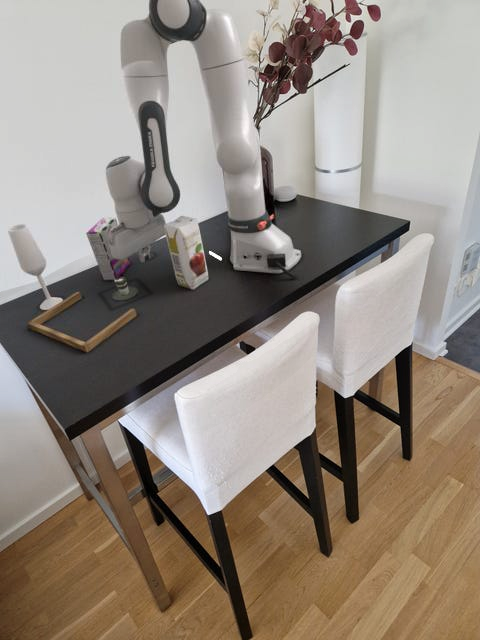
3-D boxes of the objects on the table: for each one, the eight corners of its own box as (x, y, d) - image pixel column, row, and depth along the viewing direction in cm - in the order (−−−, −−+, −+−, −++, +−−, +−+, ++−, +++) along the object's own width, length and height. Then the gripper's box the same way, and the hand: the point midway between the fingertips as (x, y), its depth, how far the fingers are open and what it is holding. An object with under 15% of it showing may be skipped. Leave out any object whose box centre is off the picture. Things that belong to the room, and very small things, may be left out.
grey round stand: (151, 293, 124) (146, 279, 121) (111, 309, 119) (106, 294, 116) (136, 279, 133) (132, 264, 130) (99, 293, 128) (93, 279, 125)
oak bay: (137, 315, 115) (135, 309, 114) (87, 352, 104) (84, 346, 103) (79, 297, 128) (77, 291, 127) (29, 328, 117) (26, 323, 116)
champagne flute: (62, 295, 130) (30, 220, 117) (63, 305, 125) (29, 228, 111) (39, 301, 129) (4, 226, 115) (39, 312, 123) (2, 235, 110)
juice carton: (174, 286, 126) (159, 225, 115) (194, 273, 131) (182, 213, 120) (192, 292, 121) (178, 229, 111) (212, 278, 126) (201, 217, 116)
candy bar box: (117, 263, 143) (102, 217, 134) (131, 263, 142) (116, 216, 133) (102, 280, 135) (85, 232, 125) (116, 280, 133) (100, 231, 124)
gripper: (113, 232, 114) (128, 278, 122) (165, 205, 127) (174, 247, 135) (98, 229, 117) (113, 273, 125) (149, 203, 130) (160, 244, 138)
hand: (145, 260), depth 130 cm, fingers closed
